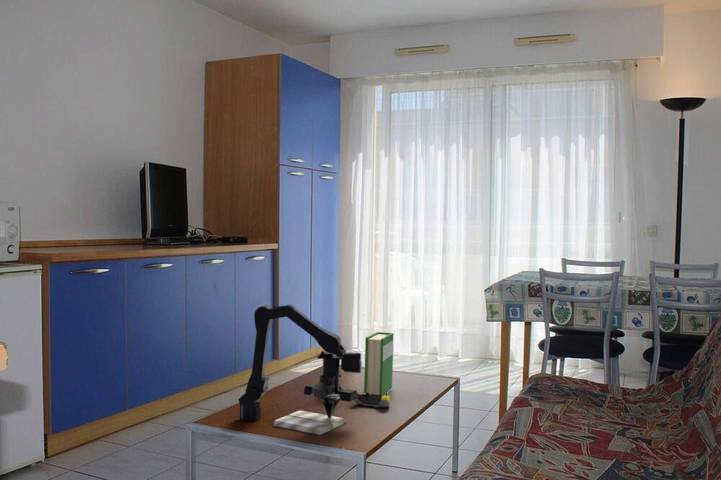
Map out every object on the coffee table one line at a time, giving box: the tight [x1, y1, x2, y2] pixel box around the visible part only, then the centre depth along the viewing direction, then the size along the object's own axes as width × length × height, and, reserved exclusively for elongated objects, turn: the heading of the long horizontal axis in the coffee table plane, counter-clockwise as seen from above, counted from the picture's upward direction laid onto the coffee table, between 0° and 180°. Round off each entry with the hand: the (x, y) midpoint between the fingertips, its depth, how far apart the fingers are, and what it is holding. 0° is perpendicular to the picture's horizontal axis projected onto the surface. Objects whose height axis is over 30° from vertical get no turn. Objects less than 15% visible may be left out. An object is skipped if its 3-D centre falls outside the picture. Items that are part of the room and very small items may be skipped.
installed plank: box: [273, 415, 333, 436], centre depth 217 cm, size 18×8×2 cm, turn 61°
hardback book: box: [363, 331, 395, 396], centre depth 271 cm, size 18×7×24 cm, turn 164°
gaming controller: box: [353, 391, 391, 409], centre depth 250 cm, size 15×6×10 cm
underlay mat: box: [274, 422, 347, 436], centre depth 221 cm, size 19×17×1 cm
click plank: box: [287, 410, 345, 430], centre depth 224 cm, size 18×7×2 cm, turn 61°
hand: (329, 417), depth 223 cm, fingers closed, pressing on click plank
